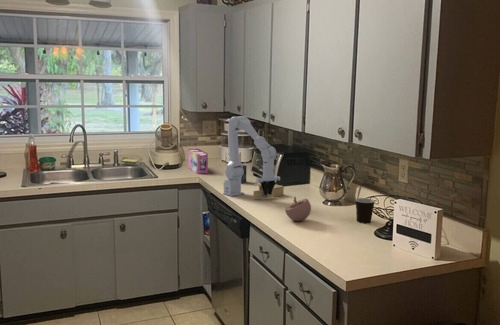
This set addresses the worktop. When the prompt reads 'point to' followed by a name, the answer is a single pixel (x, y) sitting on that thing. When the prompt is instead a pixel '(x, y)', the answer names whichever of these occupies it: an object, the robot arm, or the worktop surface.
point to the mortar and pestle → (298, 210)
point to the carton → (276, 190)
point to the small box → (244, 174)
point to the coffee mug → (364, 209)
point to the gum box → (198, 161)
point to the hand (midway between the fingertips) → (267, 194)
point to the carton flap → (262, 194)
